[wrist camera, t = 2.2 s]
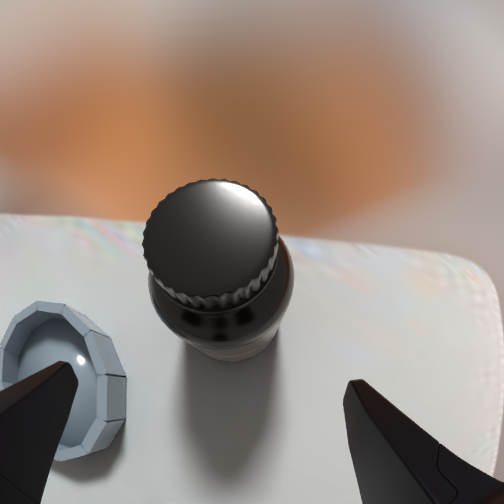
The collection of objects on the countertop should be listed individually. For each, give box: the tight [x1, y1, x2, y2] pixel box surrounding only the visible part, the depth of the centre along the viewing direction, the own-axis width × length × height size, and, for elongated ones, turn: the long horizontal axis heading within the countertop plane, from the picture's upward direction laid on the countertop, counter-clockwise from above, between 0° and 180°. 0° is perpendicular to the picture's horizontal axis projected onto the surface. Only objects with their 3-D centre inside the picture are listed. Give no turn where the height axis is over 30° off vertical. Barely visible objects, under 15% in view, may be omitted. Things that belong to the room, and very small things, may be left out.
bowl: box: [0, 301, 127, 462], centre depth 16 cm, size 13×13×3 cm
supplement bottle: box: [142, 179, 294, 362], centre depth 15 cm, size 7×7×12 cm
